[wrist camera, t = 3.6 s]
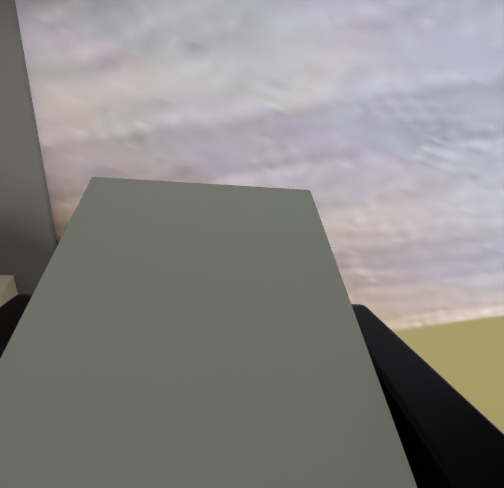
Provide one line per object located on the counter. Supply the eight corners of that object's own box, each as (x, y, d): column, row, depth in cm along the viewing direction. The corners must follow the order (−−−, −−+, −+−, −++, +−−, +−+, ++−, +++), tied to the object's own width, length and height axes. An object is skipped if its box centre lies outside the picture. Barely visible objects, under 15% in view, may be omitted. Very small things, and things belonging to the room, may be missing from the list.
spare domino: (92, 176, 10) (-435, 1219, 2) (309, 190, 11) (618, 1045, 2) (98, 235, 11) (-244, 1117, 3) (299, 245, 12) (499, 1007, 3)
